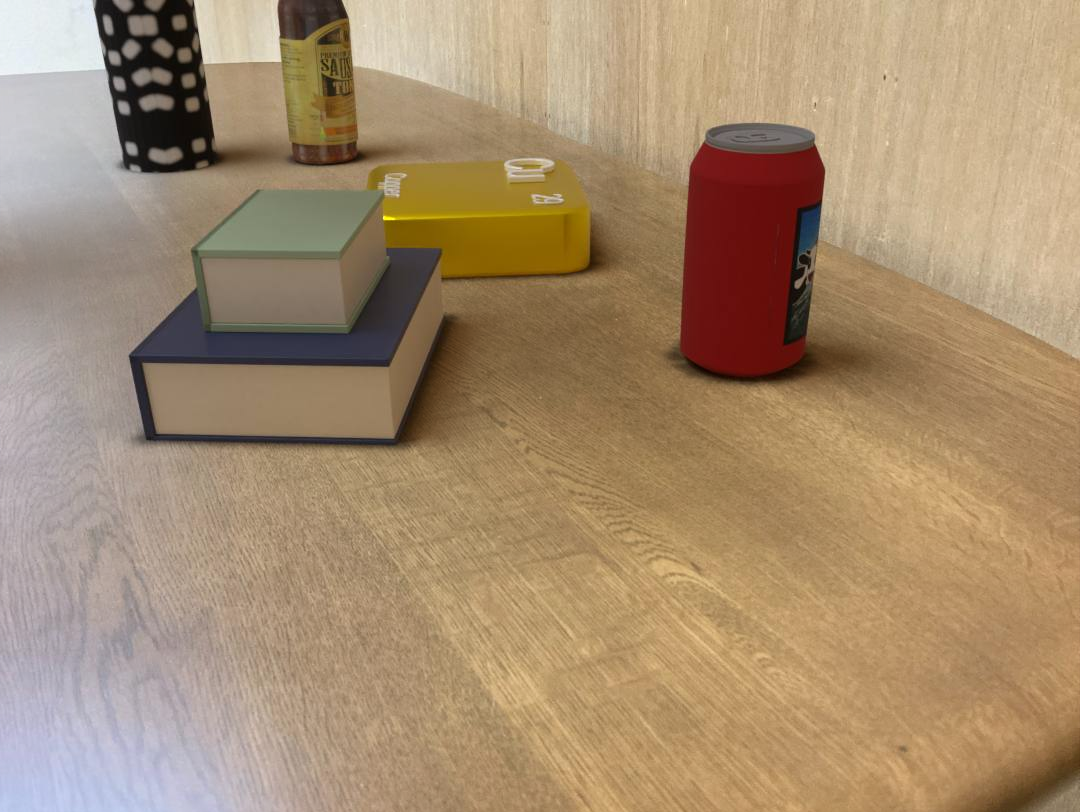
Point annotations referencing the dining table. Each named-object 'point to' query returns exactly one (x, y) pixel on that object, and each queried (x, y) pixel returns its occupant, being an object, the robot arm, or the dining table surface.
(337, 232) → the hardcover book
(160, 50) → the spotted tube
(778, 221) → the beverage can
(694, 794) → the dining table surface
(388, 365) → the encyclopedia
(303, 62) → the sauce bottle
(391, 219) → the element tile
